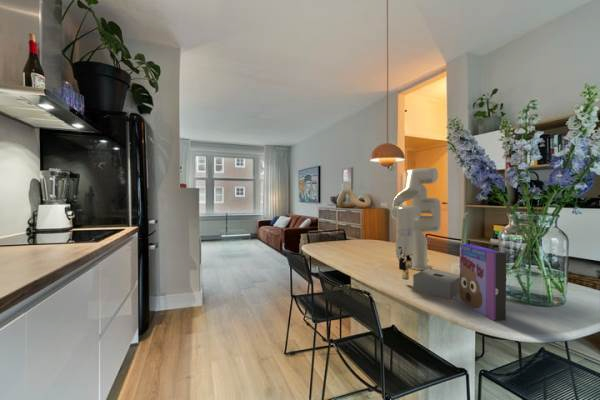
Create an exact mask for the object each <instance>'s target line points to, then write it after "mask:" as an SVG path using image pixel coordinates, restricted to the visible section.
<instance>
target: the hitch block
mask: <svg viewBox="0 0 600 400" xmlns="http://www.w3.org/2000/svg"><path fill="white" fill-rule="evenodd" d="M412 275H413V276H412V277H413V278H412V281H413V282H412V285H413V287H412V291H417V292H420V293H424V294H427V295H432V296H435V297H439V298H443V299H446V300H451V299H453V298H455V297H456V296H458V295H460V273H459V274H458V273H453V272H448V271H447V272H446V271H442V270H437V269H432V268H430V269H426V270H420V271H419V272H417V273H415V274H412Z"/></svg>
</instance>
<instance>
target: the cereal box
mask: <svg viewBox="0 0 600 400" xmlns="http://www.w3.org/2000/svg"><path fill="white" fill-rule="evenodd" d="M459 275H460V293H459V303H461V304H463V305H465V306H466V307H468V308H469V309H472V310H473V311H475V312H476V313H478V314H480V315H482V316H484V317H485V318H487V319H489V320H490V321H492V322H497V321H498V322H503V321H504V322H505V321H506V320H507V253H506V252H503V251H499V250H495V249H491V248H488V247H487V248H486V247H482V246H479V245H474V244H471V243H463V244H462V243H461V244H459Z"/></svg>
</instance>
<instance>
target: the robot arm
mask: <svg viewBox="0 0 600 400" xmlns="http://www.w3.org/2000/svg"><path fill="white" fill-rule="evenodd" d="M405 176H406V179H405V184H404V189H403V190H402V191H400V192H399V193H398V194H397V195H395V197H394V198H393V200H392V204H391V208H390V215H391V216H390V217H391V218H392V219H393V220H396V223H397V224H396V226H397V227H396V230H397V231H396V238H395V239H396V240H395V255H396V258H397V259H398V264H399V265H398V269H399V270H401V271H402V270H406V262H405V260H410V261H411V268H410V269H411V270H416V271H424V270H426V269H431V266H430V265H429V264H428V263H429V259H428V238H427V236H426V235H425V234H424V233H438V232H440V231H441V225H442V224H441V223H442V222H441V217H442V216H441V213H442V211H441V208H442V207H441V206H442V205H441V201H440V199H438V198H437V197H428V190H427V188H426V186H425V185H427V184H429V185H431V184H434V183H436V182H437V180H438V178H439V171H438V169H437V168H436V167H424V168H423V167H420V168H419V167H418V168H411V169H407V171H406V175H405ZM424 184H425V185H424ZM410 200H411V205H401V204H403V203H405V202H407V201H410ZM422 214H428V215H422Z"/></svg>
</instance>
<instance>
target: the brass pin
mask: <svg viewBox="0 0 600 400" xmlns="http://www.w3.org/2000/svg"><path fill="white" fill-rule="evenodd" d="M405 262H406V270H401V272H402V273H401V278H402V280H404V281H405V280H406V281H407V280H410V269H411V261H410V260H405Z"/></svg>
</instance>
